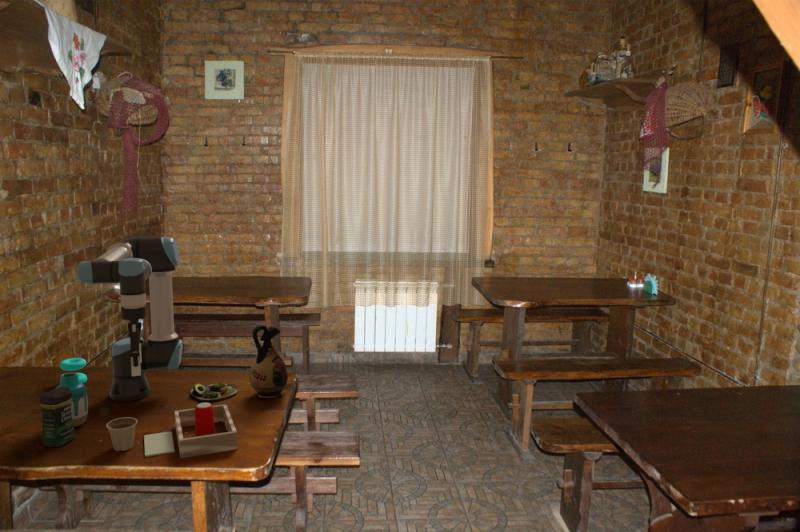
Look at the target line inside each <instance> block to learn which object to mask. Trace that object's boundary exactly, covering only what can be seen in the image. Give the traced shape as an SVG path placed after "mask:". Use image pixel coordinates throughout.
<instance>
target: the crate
mask: <svg viewBox="0 0 800 532" xmlns="http://www.w3.org/2000/svg"><path fill="white" fill-rule="evenodd" d="M212 406H213V409H214V423H220V422H219V421H221V422H223V423H225V424H224V426H225V429H226V431H227V432H220V433H219V432H218V433H214V434H212V435H205V436H198V437H196V436H193V437H186V438H184V435H183V428H185V427H192V426H195V408H196V407H195V408H194V407H193V408H187V409H180V410H174V425H175V426H174V427H175V433H176V438H177V439H176V440H177V446H178V451H179V457H180V459H184V458H190V457H196V456H204V455H209V454H216V453H222V452H227V451H229V452H230V451H235V450H238V431H237V429H236V427H235V424H234V421H233V419H232V416H231V413H230V411H229V408H228V406H227V404H225V403H224V404H218V405H217V404H215V405H212Z"/></svg>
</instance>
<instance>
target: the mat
mask: <svg viewBox="0 0 800 532" xmlns="http://www.w3.org/2000/svg"><path fill="white" fill-rule="evenodd" d="M143 440H144V458H147V457H153V456H161V455H167V454H173V453H175V452H176V450H175V443H174V438H173V431H164V432H159V433H158V432H156V433H150V434H145V435H144V436H143Z"/></svg>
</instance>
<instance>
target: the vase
mask: <svg viewBox="0 0 800 532" xmlns="http://www.w3.org/2000/svg"><path fill="white" fill-rule="evenodd" d="M77 373H78V372H66V373H63V374H61V375H60V381H59V382H60V383H59V385H58V386H56V387H55V389H56V388H59V387H66V388H70V390H71V392H72V402H71V413H72V420H73V426H74V428H76V427H79V426H81V425H83V424H84V423H85V422H86V420H87V418H88V413H89V402H88V401H89V399H88V393H87V387H86V385H85V384H84V383H80V382H79V381H78V375H77Z"/></svg>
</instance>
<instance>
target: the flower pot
mask: <svg viewBox="0 0 800 532" xmlns="http://www.w3.org/2000/svg"><path fill="white" fill-rule="evenodd" d="M137 424H138V419H136V418H134V417H127V416H125V417H119V418H115V419H112V420H110V421H109V422H107V423H106V426H105V427H106V429H107V431H108V432H109V435H110V439H111V443H112V447H113V448H112V449H113V450H114V451H116V452H120V451H122V452H123V451H128V450H130V449H132V448H133V447H134V445H135V433H136V428H137Z"/></svg>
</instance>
